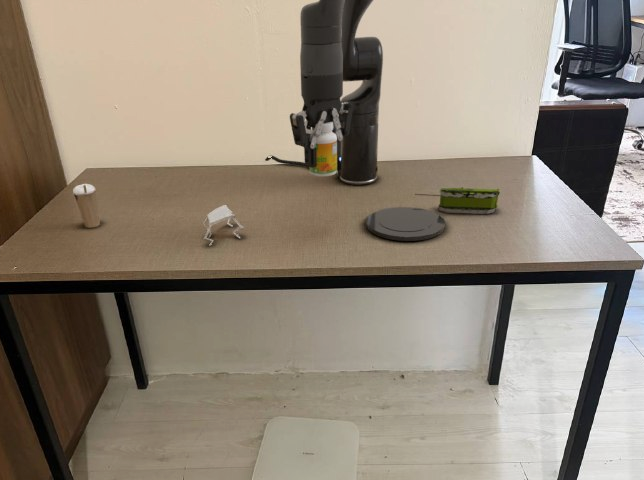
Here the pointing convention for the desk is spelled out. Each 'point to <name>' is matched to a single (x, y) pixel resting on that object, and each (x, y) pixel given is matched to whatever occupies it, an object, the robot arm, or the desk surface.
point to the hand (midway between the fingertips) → (323, 162)
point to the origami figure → (218, 216)
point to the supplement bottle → (325, 152)
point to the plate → (405, 223)
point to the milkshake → (87, 204)
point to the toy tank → (468, 200)
